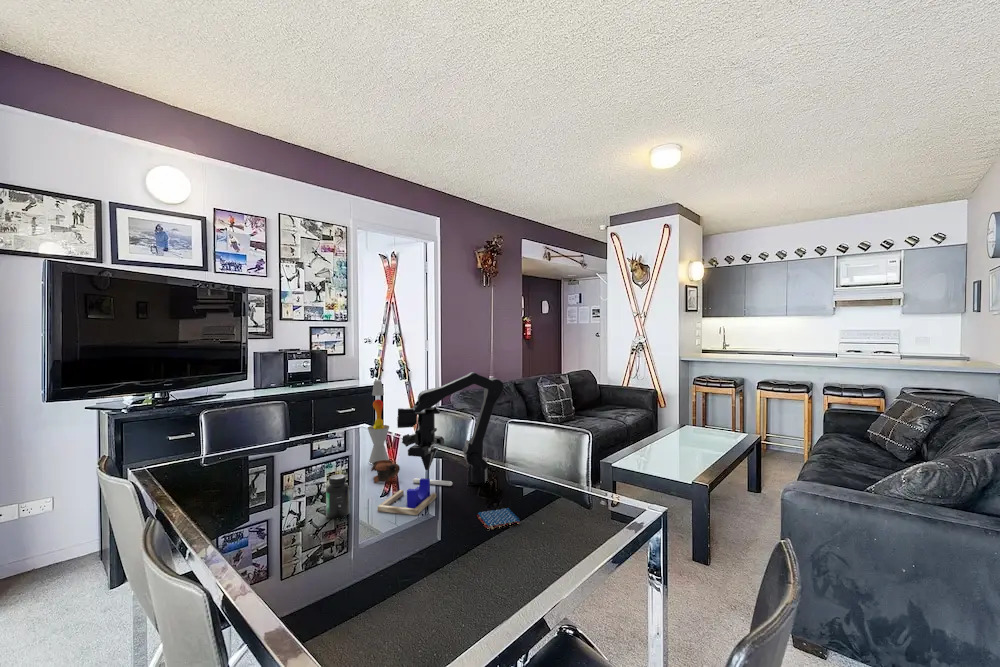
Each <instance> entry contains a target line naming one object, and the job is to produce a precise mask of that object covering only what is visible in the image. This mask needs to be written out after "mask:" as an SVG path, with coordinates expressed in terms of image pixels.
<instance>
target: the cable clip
mask: <svg viewBox="0 0 1000 667" xmlns="http://www.w3.org/2000/svg"><path fill="white" fill-rule="evenodd" d="M419 479H420V483H419V485H418V486H417V487H415V488H408V489H407V490H406V508H414V509H415V508H416V507H417V506H418V505H419V504H421V503H422V502H423V501H424V500H425V499H426V498H428V497H429V496H430V495H431V484H430V480H431V478H419Z"/></svg>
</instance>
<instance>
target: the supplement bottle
mask: <svg viewBox="0 0 1000 667" xmlns="http://www.w3.org/2000/svg"><path fill="white" fill-rule="evenodd" d="M346 482H347V478H346V475H345V474H343V473H342V474H341V473H339V474H333V475H331V476H329V478H328V484H329V485H328V486H326V488H325V511H326V512H325V515H326V518H328V519H329V518H330V520H338V519H337V518H341V517H344V516H346V515H348V514H349V515H350V508H351V507H350V505H351V504H350V502H351V501H350V485H349V484H348V483H346ZM349 515H348V516H349ZM346 517H347V516H346ZM344 518H345V517H344ZM341 519H342V518H341Z"/></svg>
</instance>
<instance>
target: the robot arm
mask: <svg viewBox="0 0 1000 667" xmlns="http://www.w3.org/2000/svg"><path fill="white" fill-rule="evenodd" d="M473 385H475V386H479V387H481V388H483V401H482V405H481V408H480V411H479V414H478V417H477V420H476V424H475V427H474V430H473V433H472V436H471V438H470V439H469V440H468V439H465V442H464V446H463V448H462V451H463V453H462V456H463V458H464V460H465V461H466V462H467V463H468V465H469V466H468V469H467V472H466V474H467V477H466V478H467V479H466V480H467V481H466V482H467V483H466V485H467V486H473V485H483V484H485V483H486V481H487V479H488V465H489V463H488V462H487V461H486V459H485V457H484V456H483V452H484V439H485V436H486V432H487V430H488V427H489V423H490V421H491V417H492V414H493V411H494V407H495V405H496V403H497V402H498V401H499V399H500V397H501V395H502V394H503V392H504V388H505V386H504V384H503V381H501V380H500V379H498V378H495V377H490V378H488V377H486V376H482V375H480V374H478V373H476V372H473V371H471V372H469V373H467V374H466V375H464V376H461V377H459V378H457V379H455V380H452V381H451V382H449V383H446V384H444V385H441V386H438V387H433V388H427V389H425V390H422V391H420V392H419V394H418V396H417V401H416V402H415V404H413V406H412V407H411V408H409V407H407V408H401V407H400V408H397V418H396V420H397V424H396V426H397V429H406V428H414V426H416V425H417V424H418V429H416V430H415V433H412V434H409V433H408V434H405V435H402V439H401V440H402V441H401V443H402V444H403V445H404V446H405V447H409V446H411V447H409V448H408V449H407V456H408V457H420V458H421V461H422V464H423V467H424V469H425V471H428V470H430V469H431V466H432V463H433V461H434V458H435V456H436V454H437V451H438V450H439V448H437V447H435V445H436V444H438V445H439V446H443V445H445V438H444V437H443V436H442V435H441V436H440V435H439V436H438V435H436V432H437V430H438V429H437V427H436V426H435V425H436V423H435V422H436V421H435V415H437V414H438V415H439V414H441V411H440V409H438V408H437V407H436V405H437V404H439V403H440V401H442V400H443V399H445V398H446V397H448V396H450V395H453V394H456V393H457V392H460V391H462V390H463V389H466V388H468V387H470V386H473Z"/></svg>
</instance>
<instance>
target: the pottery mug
mask: <svg viewBox="0 0 1000 667" xmlns="http://www.w3.org/2000/svg"><path fill="white" fill-rule="evenodd" d="M400 470H401V467H400V465H399V464H398V463H394V462H393V461H392V460H390V459H389V460H381V461H376V462H374V463H373V465H372V466H371V470H370V471H371V472H373V471H374V472H376V473H377V475H375V476H373V482H374V483H381V482H382V483H383V482H384V483H385V482H387V483H389V482H390V479H394V478H395V476H397V475H398V474H399V472H400Z"/></svg>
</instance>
